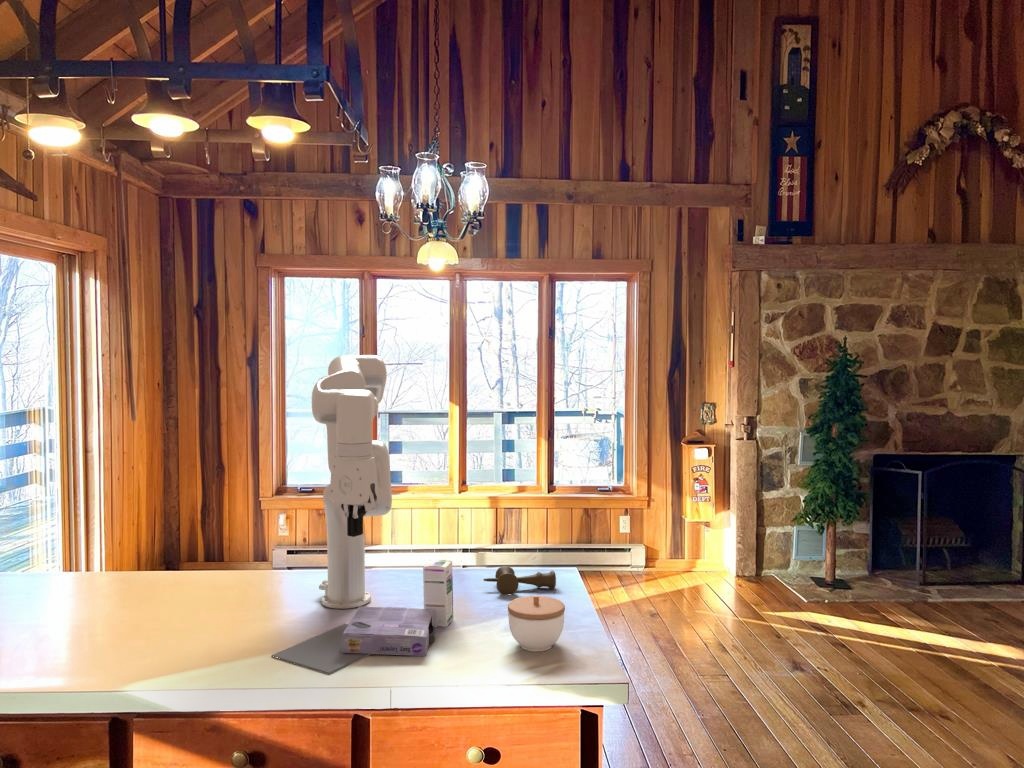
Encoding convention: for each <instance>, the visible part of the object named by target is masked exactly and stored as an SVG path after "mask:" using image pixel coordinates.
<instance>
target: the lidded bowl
mask: <svg viewBox="0 0 1024 768" xmlns="http://www.w3.org/2000/svg"><path fill="white" fill-rule="evenodd" d="M565 606H566V605H565V604H564V602H562V601H561V600H560V599H557V598H555V597H550V596H544V595H543V596H541V595H537V594H536V595H528V596H521V597H517V598H515V599H512V600H511V601H510V602H509V603H508V604H507V612H508V614H507V615H508V616H507V618H508V625H509V631H510V633H511V635H512V637H513V639H514V641H515V642H517V644H519V646H521V647H522V648H521V647H520V648H521V649H523V650H525V651H529V652H544V651H545V652H546V651H548V650H550V649H552V648H553V645H554V644H555V643H557V641H558V640H559V639H560V637H561V635H562V632H563V629H564V623H565V610H566V607H565Z"/></svg>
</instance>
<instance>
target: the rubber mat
mask: <svg viewBox="0 0 1024 768" xmlns="http://www.w3.org/2000/svg"><path fill="white" fill-rule="evenodd" d="M348 624H349V623H343V624H341V625H338V626H336V627H334V628H332V629H329V630H326V631H324V632H322V633H320V634H317V635H315V636H313V637H311V638H308V639H306V640H303V641H302V642H298V643H296V644H294V645H291V646H290V647H287V648H285V649H282V650H280V651H277V652H276V653H273V654H271V657H272V656H274V657H278V658H280V659H283V660H285V661H284V662H287V661H288V662H287V663H290V662H291V663H290V664H293V663H295V664H294V665H296V664H298V665H297V666H300V667H303V666H304V668H306V667H307V668H306V669H309V670H312V671H313V670H314V671H316V672H319V673H323V674H326V675H332V674H333V673H336V672H338V671H339V670H341V669H343V668H346V667H347V666H349V665H351V664H353V663H355V662H357V661H359V660H362V659H363V658H366V657H367V656H370V655H371V654H362V653H342V634H343V632H344V631H345V629H346V628H347V626H348ZM280 659H279V660H280ZM283 660H282V661H283Z"/></svg>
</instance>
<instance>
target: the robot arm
mask: <svg viewBox="0 0 1024 768" xmlns="http://www.w3.org/2000/svg"><path fill="white" fill-rule="evenodd" d="M387 376H388V375H387V368H386V364H385V361H384V360H383V358H381V357H380V356H378V355H375V354H361V355H360V354H347V355H346V354H345V355H339V356H337V357H335V358H333V359H332V360H331V361H330V363H329V365H328V368H327V375H325V376H322V377H320V378H319V379H318V380H317V382H316V383H315V384H314V386H313V389H312V392H311V412H312V417H313V418H314V420H315V421H316V422H317V423H319V424H321V425H322V424H323V425H325V426H326V436H327V437H326V438H327V439H326V441H327V443H326V444H327V464H328V469H329V473H330V482H329V484H327V485H326V487H324V489H323V495H322V499H323V502H322V503H323V507H324V508H323V509H324V513H325V521H326V538H327V539H326V543H327V545H326V546H327V548H326V549H327V552H326V553H327V554H326V555H327V557H326V558H327V579H324V580H323V581H322V583H321V584H319V586H318V589H319V590H321V591H324V595H323V596H322V597H321V604H322V605H323V606H324V607H327V608H329V609H340V610H343V609H353V608H359V607H360V606H362V607H363V606H365V605H367V604H368V603H370V602H371V601H372V594H371V593H370V592H368V591H366V576H365V575H366V569H365V567H366V561H365V559H366V557H365V556H366V555H365V552H366V551H365V550H366V549H365V544H366V543H365V539H366V537H365V532H364V517H380V516H385V515H388V514H389V512H390V511H391V509H392V507H393V506H392V503H393V497H392V496H393V495H392V494H393V493H392V480H391V463H390V455H389V454H390V453H389V449H388V446H387V445H386V444H385V442H383V441H381V440H377V439H375V440H374V439H373V420H374V418H375V416H377V415H378V408H379V404H380V403H381V402H382V400H383V397H384V392H385V389H386V383H387Z"/></svg>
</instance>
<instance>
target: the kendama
mask: <svg viewBox="0 0 1024 768" xmlns="http://www.w3.org/2000/svg"><path fill="white" fill-rule="evenodd" d="M515 574H516V573H515V571H514V569H513V568H512V567H511V566H508V565H503V566H500V567H498V568H497V569H496V571H495V578H494V577H493V578H492V577H491V578H490V577H489V578H483V582H493V583H494V582H495V583H496V589H497V591H498V593H499V594H501V595H503V594H512V595H513V594H516V592H517V591H518V589H519V585H520V584H525V585H530V586H531V585H532V586H535V587H536V588H537V589H540V588H544V587H545V588H550V589H551V590H555V588H556V585H557V577H556V572H555V571H554V570H550V571H549V572H547V573H541V572H540V571H538V572H536V573H535V574H532V575H524V576H517V575H515Z"/></svg>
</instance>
